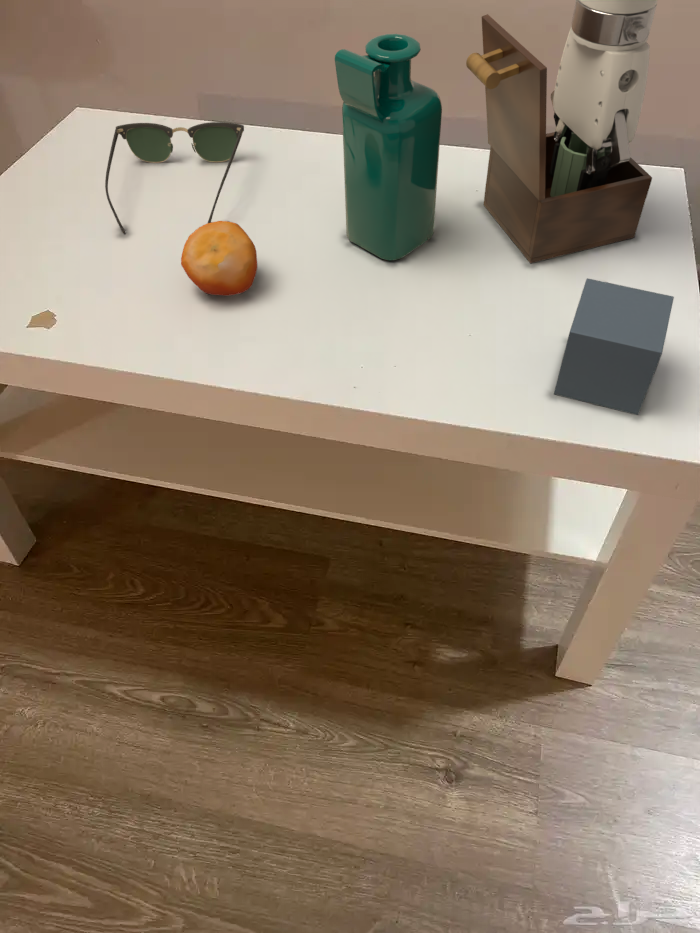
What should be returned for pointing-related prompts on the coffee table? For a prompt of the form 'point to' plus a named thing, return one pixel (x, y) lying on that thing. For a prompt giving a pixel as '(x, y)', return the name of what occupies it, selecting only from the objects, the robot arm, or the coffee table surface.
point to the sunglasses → (156, 145)
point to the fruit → (220, 258)
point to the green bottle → (388, 147)
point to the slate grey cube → (614, 345)
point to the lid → (514, 103)
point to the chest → (565, 209)
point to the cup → (570, 165)
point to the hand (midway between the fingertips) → (575, 185)
